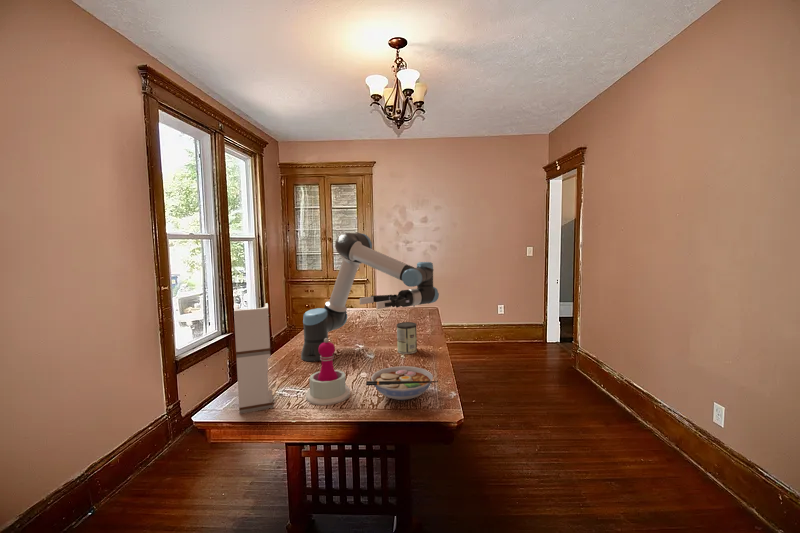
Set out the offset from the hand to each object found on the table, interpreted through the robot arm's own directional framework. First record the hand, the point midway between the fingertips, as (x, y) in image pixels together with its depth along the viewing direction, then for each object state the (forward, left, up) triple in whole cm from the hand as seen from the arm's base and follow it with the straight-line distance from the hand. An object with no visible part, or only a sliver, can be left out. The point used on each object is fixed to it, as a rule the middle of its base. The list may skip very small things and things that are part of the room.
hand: (368, 303), depth 151 cm
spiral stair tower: (-4, -45, -32) cm, 55 cm away
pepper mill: (+6, -22, -30) cm, 37 cm away
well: (+6, -22, -31) cm, 39 cm away
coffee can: (-18, +34, -32) cm, 50 cm away
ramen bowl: (+24, -1, -32) cm, 39 cm away
